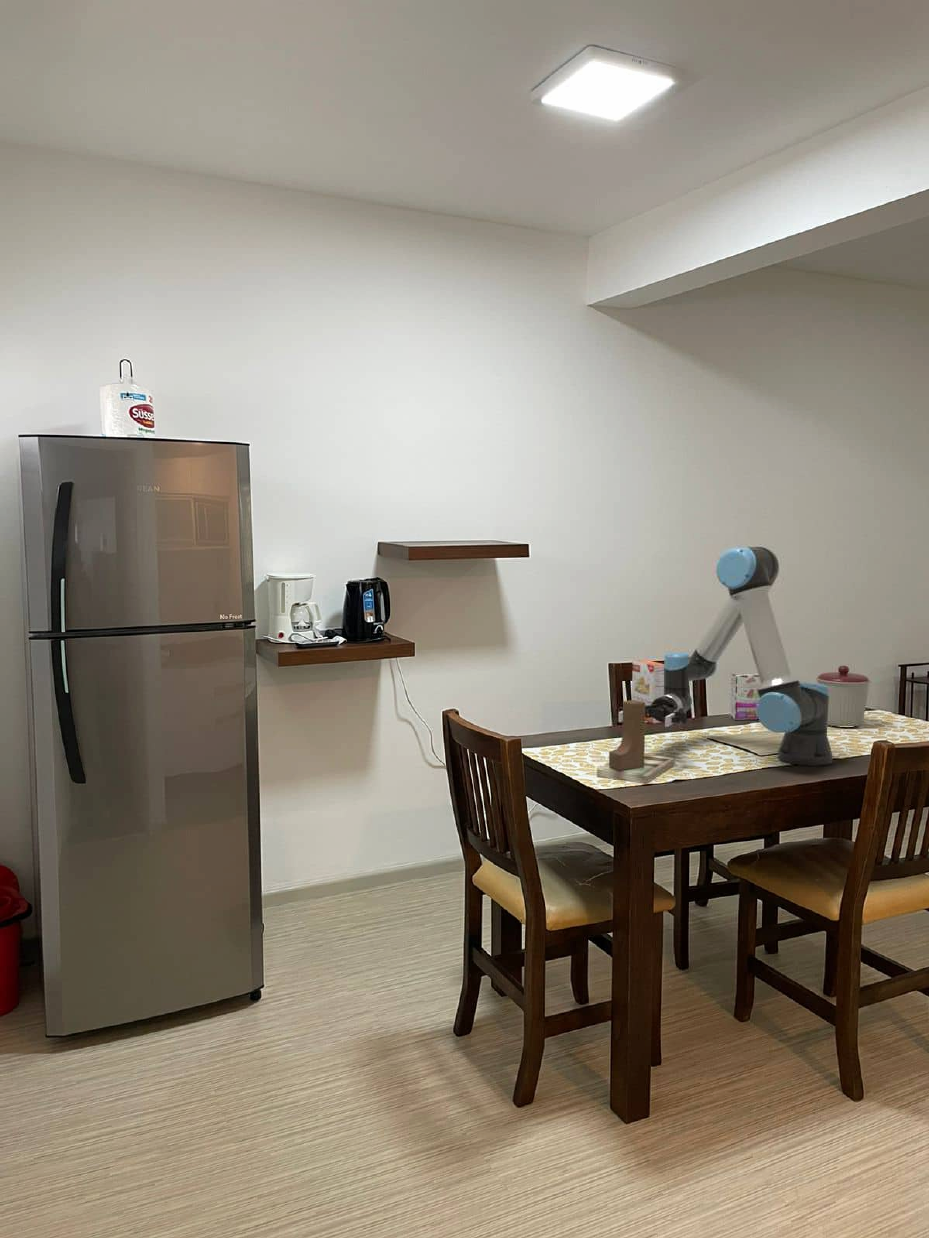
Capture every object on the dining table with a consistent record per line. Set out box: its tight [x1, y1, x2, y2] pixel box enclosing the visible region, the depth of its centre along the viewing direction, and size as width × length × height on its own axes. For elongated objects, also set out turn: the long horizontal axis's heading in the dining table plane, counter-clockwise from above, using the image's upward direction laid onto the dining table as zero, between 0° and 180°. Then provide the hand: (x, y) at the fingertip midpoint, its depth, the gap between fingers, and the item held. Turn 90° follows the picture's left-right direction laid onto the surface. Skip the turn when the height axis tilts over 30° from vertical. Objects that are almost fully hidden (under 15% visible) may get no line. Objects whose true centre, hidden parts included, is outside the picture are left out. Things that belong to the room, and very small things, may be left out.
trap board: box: [596, 753, 676, 784], centre depth 264 cm, size 14×24×2 cm, turn 150°
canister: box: [815, 665, 872, 727], centre depth 329 cm, size 18×18×21 cm
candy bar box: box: [730, 673, 760, 719], centre depth 339 cm, size 11×5×16 cm, turn 97°
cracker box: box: [631, 659, 665, 725], centre depth 337 cm, size 14×6×21 cm, turn 22°
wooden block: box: [608, 699, 646, 771], centre depth 257 cm, size 9×4×18 cm, turn 121°
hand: (642, 719), depth 265 cm, fingers open, 13 cm apart
